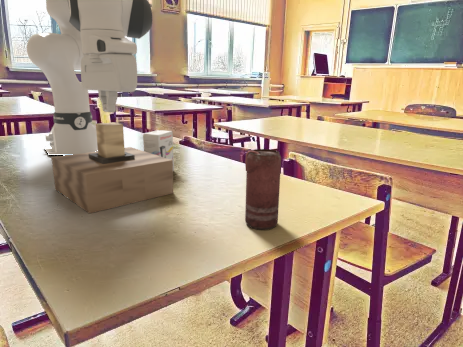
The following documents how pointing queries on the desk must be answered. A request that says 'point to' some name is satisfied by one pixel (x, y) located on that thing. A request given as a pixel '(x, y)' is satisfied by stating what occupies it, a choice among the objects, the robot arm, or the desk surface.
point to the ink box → (159, 143)
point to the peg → (110, 139)
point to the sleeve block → (112, 178)
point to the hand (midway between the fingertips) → (109, 111)
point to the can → (262, 188)
